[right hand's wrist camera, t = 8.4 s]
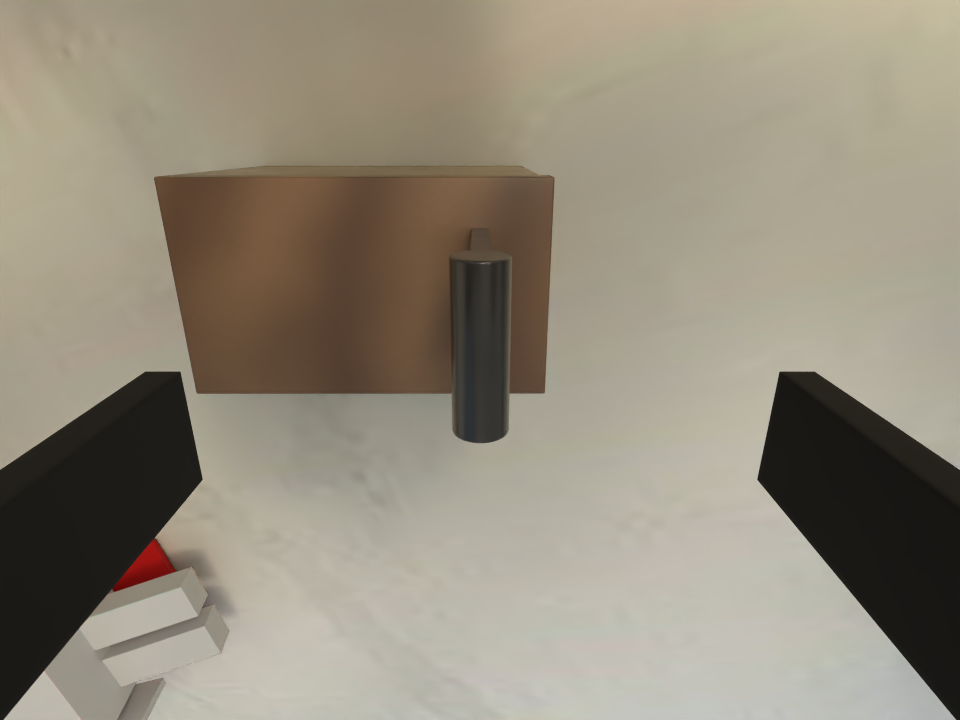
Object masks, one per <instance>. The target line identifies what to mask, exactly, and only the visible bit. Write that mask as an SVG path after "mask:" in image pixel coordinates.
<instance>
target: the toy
mask: <svg viewBox="0 0 960 720" xmlns="http://www.w3.org/2000/svg"><path fill="white" fill-rule="evenodd" d="M207 596H208V593H207V592H206V590H205V588H204V587H203V585H202V583H201V582H200V580H199V578H198V576H197V575H196V573H195V571H194V570H193V568H192V567H189V568H186V569H183V570H180V571H177V572H176V571H175V569H174V568H173V566H172V565H171V563H170V562H169V560H168V558H167V557H166V555H165V554H164V552H163V551H162V549H161V548H160V546H159V544H158V543H157V541H156V540H155V539H154V540H152V541H151V543H150V544H149V545H148V546H147V547H146V549H145V550H144V551H143V552H142V553H141V555H140V556H139V557H138V558H137V559H136V561H135V562H134V563H133V564H132V565H131V567H130V568H129V569H128V570H127V572H126V573H125V574H124V575H123V576H122V578H121V579H120V580H119V581H118V582H117V584H116V585H115V586H114V587H113V588H112V590H111V591H110V592H109V593H108V594H107V596H106V597H105V598H104V599H103V600H102V602H101V603H100V604H99V605H98V607H97V608H96V609H95V610H94V611H93V613H92V614H91V615H90V616H89V617H88V619H87V620H86V621H85V622H84V623H83V625H82V626H81V627H80V628H79V629H78V631H77V632H76V633H75V634H74V635H73V637H72V638H71V639H70V640H69V642H68V643H67V644H66V645H65V646H64V648H63V649H62V650H61V651H60V652H59V654H58V655H57V656H56V657H55V658H54V660H53V661H52V662H51V663H50V664H49V666H48V667H47V668H46V669H45V670H44V672H43V673H42V674H41V675H40V676H39V678H38V679H37V680H36V681H35V683H34V684H33V685H32V686H31V687H30V689H29V690H28V691H27V692H26V693H25V695H24V696H23V697H22V698H21V699H20V701H19V702H18V703H17V704H16V705H15V707H14V708H13V709H12V710H11V711H10V713H9V714H8V715H7V716H6V718H5V719H4V720H147V719H148V717H149V715H150V713H151V711H152V709H153V707H154V705H155V703H156V701H157V699H158V697H159V695H160V693H161V691H162V689H163V687H164V686H165V684H166V682H165V680H164V678H160V679H156V680H152V681H148V682H144V683H140V684H136V682H137V681H140V680H143V679H146V678H149V677H152V676H155V675H158V674H161V673H164V672H167V671H170V670H173V669H176V668H179V667H182V666H185V665H188V664H191V663H194V662H197V661H200V660H203V659H205V658H208V657H211V656H214V655H217V654H220V653H221V652H222V649H223V646H224V644H225V641H226V638H227V636H228V633H229V629H228V627H227V626H226V624H225V622H224V621H223V619H222V617H221V616H220V614H219V612H218V610H217V609H216V607H215V605H214V604H213V605H210V606H207V607H204V608H202V607H203V605H204V602H205V600H206V598H207ZM135 684H136V685H135Z"/></svg>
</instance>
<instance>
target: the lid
mask: <svg viewBox="0 0 960 720" xmlns="http://www.w3.org/2000/svg"><path fill="white" fill-rule="evenodd" d="M154 180H155V185H156V190H157V195H158V200H159V205H160V210H161V215H162V220H163V225H164V230H165V235H166V240H167V246H168V251H169V256H170V261H171V266H172V271H173V276H174V281H175V286H176V291H177V296H178V301H179V306H180V311H181V316H182V321H183V326H184V331H185V336H186V341H187V346H188V351H189V356H190V362H191V367H192V372H193V377H194V382H195V387H196V392H197V393H198V394H313V393H452V429H453V432H454V434H455V435H456V436H457V437H458V438H460V439H462V440H464V441H468V442H472V443H489V442H494V441H497V440H499V439H501V438H503V437H504V436H505V435H506V434H507V432H508V430H509V393H544V392H545V375H546V353H547V330H548V308H549V286H550V264H551V242H552V220H553V198H554V177H552V176H550V175H168V176H158V177H154Z"/></svg>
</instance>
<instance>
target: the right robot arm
mask: <svg viewBox="0 0 960 720" xmlns="http://www.w3.org/2000/svg"><path fill="white" fill-rule="evenodd" d="M202 480H203V479H202V474H201V469H200V464H199V460H198V455H197V450H196V445H195V440H194V435H193V431H192V426H191V421H190V416H189V411H188V406H187V402H186V397H185V392H184V387H183V382H182V377H181V373H180V372H144V373H143V374H141V375H140V376H138V377H137V378H135V379H134V380H132V381H131V382H129V383H128V384H127V385H125V386H124V387H122V388H121V389H119V390H118V391H116V392H115V393H113V394H112V395H110V396H109V397H107V398H106V399H104V400H103V401H101V402H100V403H98V404H97V405H96V406H94V407H93V408H91V409H90V410H88V411H87V412H85V413H84V414H82V415H81V416H79V417H78V418H76V419H75V420H73V421H72V422H70V423H69V424H67V425H66V426H65V427H63V428H62V429H60V430H59V431H57V432H56V433H54V434H53V435H51V436H50V437H48V438H47V439H45V440H44V441H42V442H41V443H39V444H38V445H37V446H35V447H34V448H32V449H31V450H29V451H28V452H26V453H25V454H23V455H22V456H20V457H19V458H17V459H16V460H14V461H13V462H11V463H10V464H8V465H7V466H6V467H4V468H3V469H1V470H0V720H4V719H5V718H6V716H7V715H8V714H9V713H10V711H11V710H12V709H13V708H14V707H15V705H16V704H17V703H18V702H19V701H20V699H21V698H22V697H23V696H24V695H25V693H26V692H27V691H28V690H29V689H30V687H31V686H32V685H33V684H34V683H35V681H36V680H37V679H38V678H39V676H40V675H41V674H42V673H43V672H44V670H45V669H46V668H47V667H48V666H49V664H50V663H51V662H52V661H53V660H54V658H55V657H56V656H57V655H58V654H59V652H60V651H61V650H62V649H63V648H64V646H65V645H66V644H67V643H68V642H69V640H70V639H71V638H72V637H73V635H74V634H75V633H76V632H77V631H78V629H79V628H80V627H81V626H82V625H83V623H84V622H85V621H86V620H87V619H88V617H89V616H90V615H91V614H92V613H93V611H94V610H95V609H96V608H97V607H98V605H99V604H100V603H101V602H102V600H103V599H104V598H105V597H106V596H107V594H108V593H109V592H110V591H111V590H112V588H113V587H114V586H115V585H116V584H117V582H118V581H119V580H120V579H121V578H122V576H123V575H124V574H125V573H126V572H127V570H128V569H129V568H130V567H131V565H132V564H133V563H134V562H135V561H136V559H137V558H138V557H139V556H140V555H141V553H142V552H143V551H144V550H145V549H146V547H147V546H148V545H149V544H150V543H151V541H152V540H153V539H154V538H155V537H156V535H157V534H158V533H159V532H160V531H161V529H162V528H163V527H164V526H165V524H166V523H167V522H168V521H169V520H170V518H171V517H172V516H173V515H174V514H175V512H176V511H177V510H178V509H179V508H180V506H181V505H182V504H183V503H184V502H185V500H186V499H187V498H188V497H189V496H190V494H191V493H192V492H193V491H194V489H195V488H196V487H197V486H198V485H199V483H200V482H201V481H202ZM757 480H758V481H759V482H760V483H761V485H762V486H763V487H764V488H765V489H766V491H767V492H768V493H769V494H770V496H771V497H772V498H773V499H774V500H775V502H776V503H777V504H778V505H779V506H780V508H781V509H782V510H783V511H784V512H785V514H786V515H787V516H788V517H789V518H790V520H791V521H792V522H793V523H794V524H795V526H796V527H797V528H798V529H799V531H800V532H801V533H802V534H803V535H804V537H805V538H806V539H807V540H808V541H809V543H810V544H811V545H812V546H813V547H814V549H815V550H816V551H817V552H818V553H819V555H820V556H821V557H822V558H823V559H824V561H825V562H826V563H827V564H828V566H829V567H830V568H831V569H832V570H833V572H834V573H835V574H836V575H837V576H838V578H839V579H840V580H841V581H842V582H843V584H844V585H845V586H846V587H847V588H848V590H849V591H850V592H851V593H852V594H853V596H854V597H855V598H856V599H857V600H858V602H859V603H860V604H861V605H862V607H863V608H864V609H865V610H866V611H867V613H868V614H869V615H870V616H871V617H872V619H873V620H874V621H875V622H876V623H877V625H878V626H879V627H880V628H881V629H882V631H883V632H884V633H885V634H886V635H887V637H888V638H889V639H890V640H891V642H892V643H893V644H894V645H895V646H896V648H897V649H898V650H899V651H900V652H901V654H902V655H903V656H904V657H905V658H906V660H907V661H908V662H909V663H910V664H911V666H912V667H913V668H914V669H915V670H916V672H917V673H918V674H919V675H920V677H921V678H922V679H923V680H924V681H925V683H926V684H927V685H928V686H929V687H930V689H931V690H932V691H933V692H934V693H935V695H936V696H937V697H938V698H939V699H940V701H941V702H942V703H943V704H944V705H945V707H946V708H947V709H948V710H949V711H950V713H951V714H952V715H953V716H954V718H955V719H956V720H960V470H959V469H957V468H956V467H954V466H953V465H952V464H950V463H949V462H947V461H946V460H944V459H943V458H941V457H940V456H938V455H937V454H935V453H934V452H932V451H931V450H929V449H928V448H926V447H925V446H923V445H922V444H921V443H919V442H918V441H916V440H915V439H913V438H912V437H910V436H909V435H907V434H906V433H904V432H903V431H901V430H900V429H898V428H897V427H895V426H894V425H893V424H891V423H890V422H888V421H887V420H885V419H884V418H882V417H881V416H879V415H878V414H876V413H875V412H873V411H872V410H870V409H869V408H867V407H866V406H864V405H863V404H862V403H860V402H859V401H857V400H856V399H854V398H853V397H851V396H850V395H848V394H847V393H845V392H844V391H842V390H841V389H839V388H838V387H836V386H835V385H833V384H832V383H831V382H829V381H828V380H826V379H825V378H823V377H822V376H820V375H819V374H817V373H816V372H779V377H778V382H777V387H776V392H775V397H774V402H773V406H772V411H771V416H770V421H769V426H768V431H767V435H766V440H765V445H764V450H763V455H762V460H761V464H760V469H759V474H758V479H757Z"/></svg>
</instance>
